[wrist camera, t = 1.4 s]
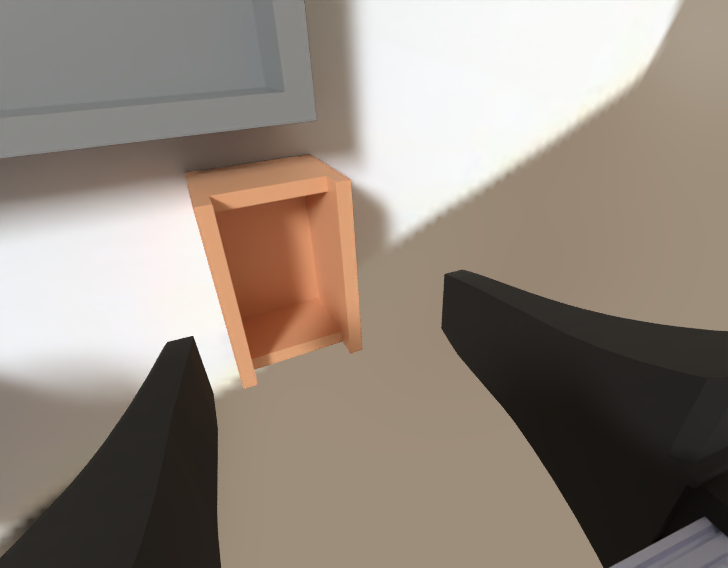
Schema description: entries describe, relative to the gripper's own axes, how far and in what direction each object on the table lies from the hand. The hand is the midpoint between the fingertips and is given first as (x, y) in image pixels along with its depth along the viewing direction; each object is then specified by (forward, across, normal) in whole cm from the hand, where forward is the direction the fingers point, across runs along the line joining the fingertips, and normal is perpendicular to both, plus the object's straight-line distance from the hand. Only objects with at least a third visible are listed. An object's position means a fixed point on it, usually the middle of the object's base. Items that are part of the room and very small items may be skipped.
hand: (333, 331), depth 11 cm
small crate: (+10, +1, +1) cm, 10 cm away
